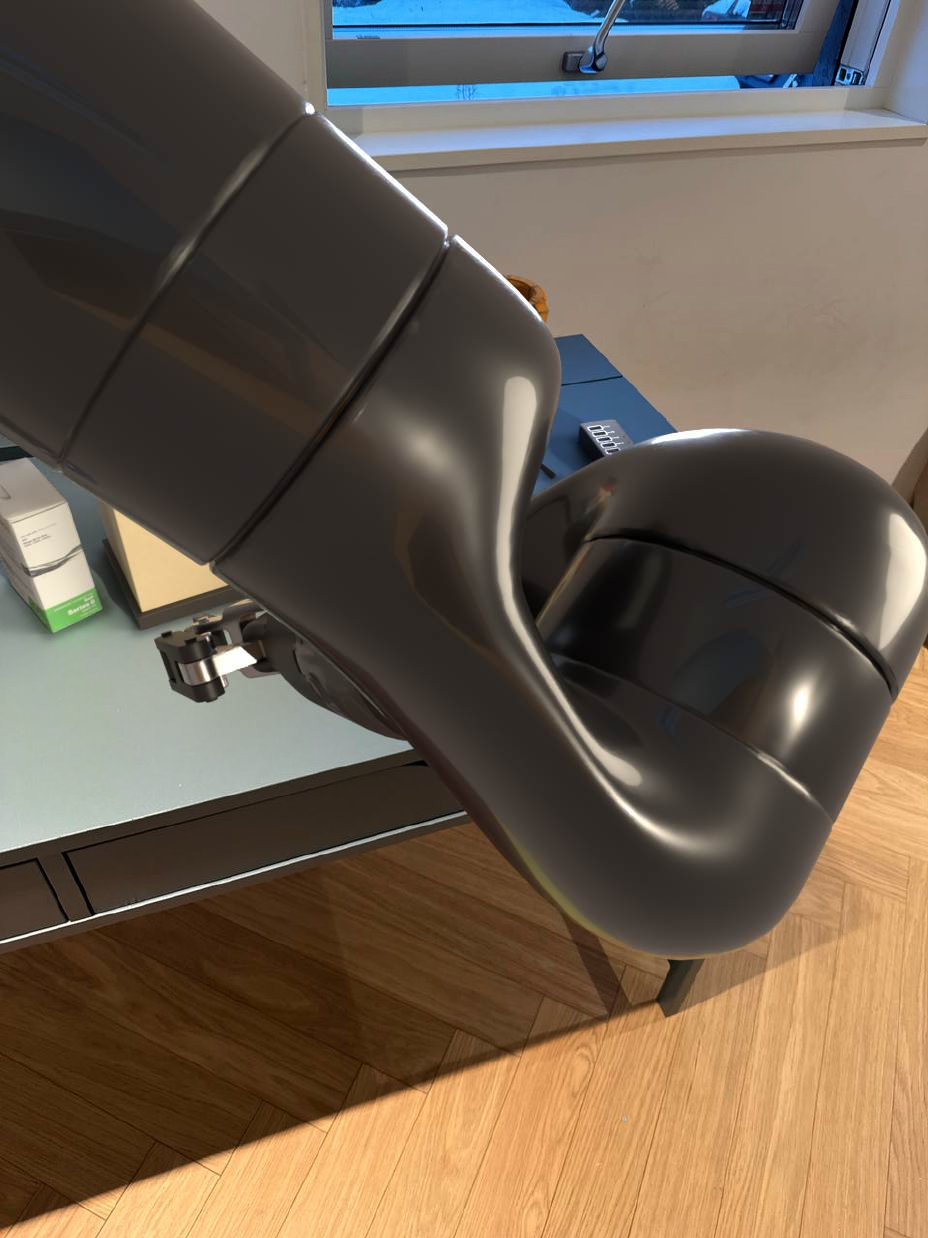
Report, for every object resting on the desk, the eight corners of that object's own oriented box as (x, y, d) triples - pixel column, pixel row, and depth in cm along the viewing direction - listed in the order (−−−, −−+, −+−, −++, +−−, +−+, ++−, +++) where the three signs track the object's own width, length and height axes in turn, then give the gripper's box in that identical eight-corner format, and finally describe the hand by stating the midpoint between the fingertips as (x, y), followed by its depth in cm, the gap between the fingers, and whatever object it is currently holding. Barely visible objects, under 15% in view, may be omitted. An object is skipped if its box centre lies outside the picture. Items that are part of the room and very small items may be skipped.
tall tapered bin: (141, 631, 77) (43, 288, 57) (105, 551, 85) (6, 222, 64) (274, 588, 82) (228, 256, 61) (228, 516, 89) (173, 199, 69)
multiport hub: (611, 435, 103) (614, 417, 101) (655, 490, 96) (659, 471, 94) (575, 441, 102) (578, 423, 100) (617, 496, 94) (620, 477, 93)
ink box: (106, 610, 79) (71, 500, 71) (50, 636, 76) (7, 524, 68) (63, 561, 83) (25, 452, 75) (9, 584, 81) (-35, 473, 73)
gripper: (530, 478, 35) (382, 502, 50) (172, 594, 30) (122, 582, 44) (577, 657, 37) (420, 629, 51) (245, 800, 31) (173, 723, 46)
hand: (282, 608), depth 48 cm, fingers open, 8 cm apart
